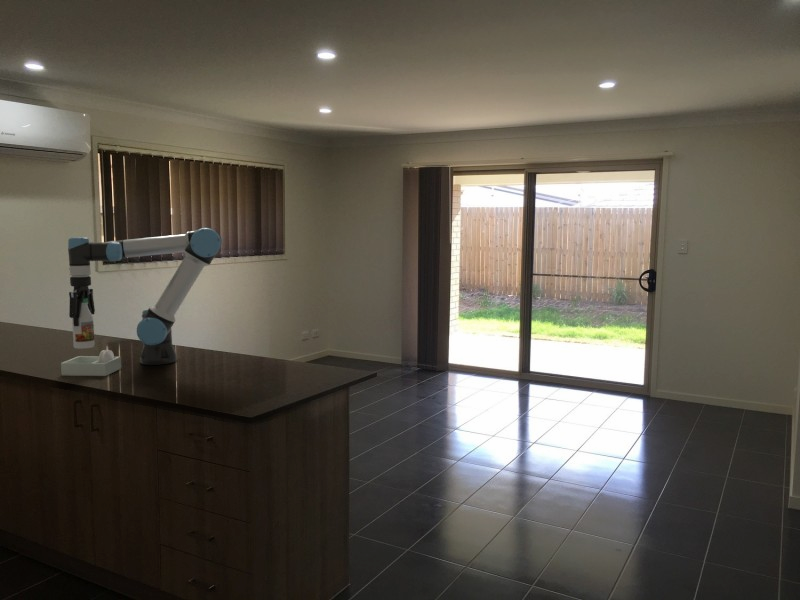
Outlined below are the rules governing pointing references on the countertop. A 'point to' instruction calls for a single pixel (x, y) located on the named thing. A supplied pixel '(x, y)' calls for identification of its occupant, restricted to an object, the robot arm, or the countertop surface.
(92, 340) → the milk bottle
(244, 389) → the countertop surface
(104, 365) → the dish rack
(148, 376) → the countertop surface
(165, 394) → the countertop surface
